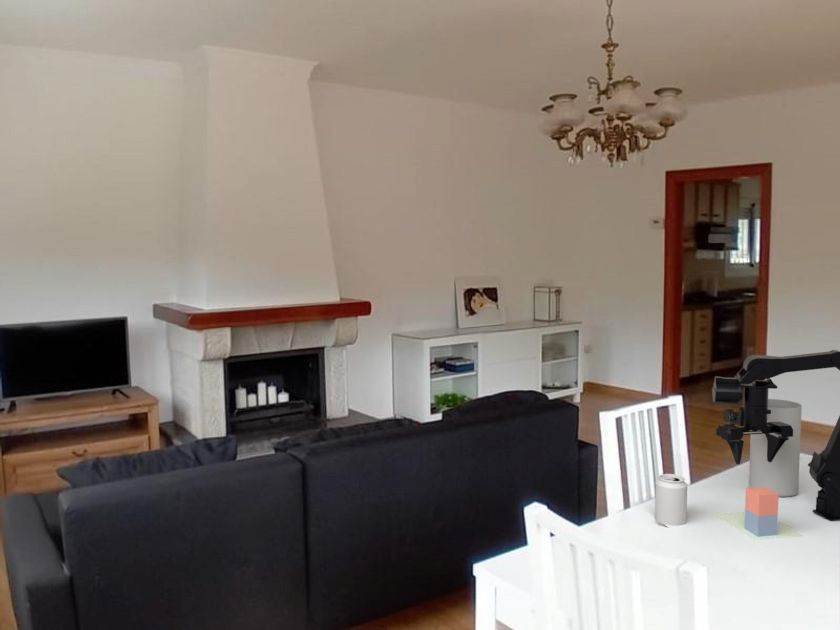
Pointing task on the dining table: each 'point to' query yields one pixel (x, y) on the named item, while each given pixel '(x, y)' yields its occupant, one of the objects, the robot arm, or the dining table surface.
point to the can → (671, 500)
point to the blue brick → (761, 524)
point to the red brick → (761, 501)
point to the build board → (739, 523)
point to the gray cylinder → (786, 462)
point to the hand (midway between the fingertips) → (753, 462)
